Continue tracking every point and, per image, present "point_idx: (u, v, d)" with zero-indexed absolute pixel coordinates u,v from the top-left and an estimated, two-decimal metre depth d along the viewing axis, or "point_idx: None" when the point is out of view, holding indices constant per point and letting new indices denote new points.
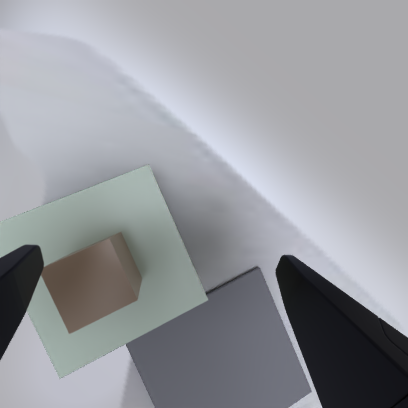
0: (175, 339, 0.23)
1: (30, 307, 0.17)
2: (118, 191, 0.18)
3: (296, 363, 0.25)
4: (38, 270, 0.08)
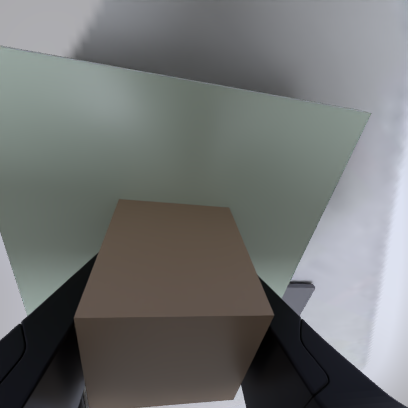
0: None
1: (15, 248, 0.09)
2: (278, 134, 0.08)
3: None
4: None
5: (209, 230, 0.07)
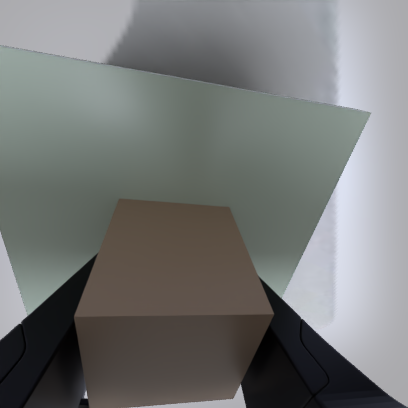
0: None
1: (15, 247, 0.09)
2: (278, 133, 0.08)
3: None
4: None
5: (209, 229, 0.07)
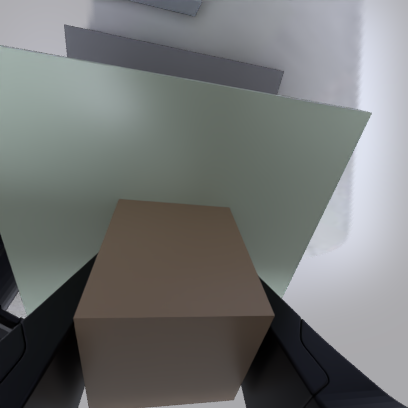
0: None
1: (14, 248, 0.09)
2: (278, 134, 0.08)
3: None
4: None
5: (209, 230, 0.07)
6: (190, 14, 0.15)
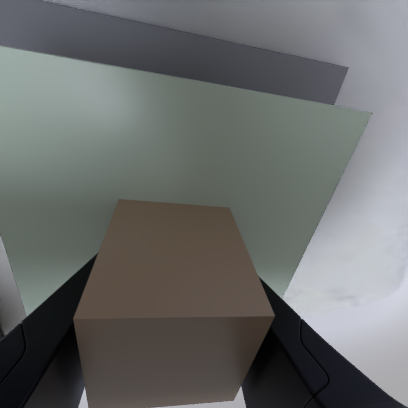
0: None
1: (14, 248, 0.09)
2: (279, 134, 0.08)
3: None
4: None
5: (209, 230, 0.07)
6: None
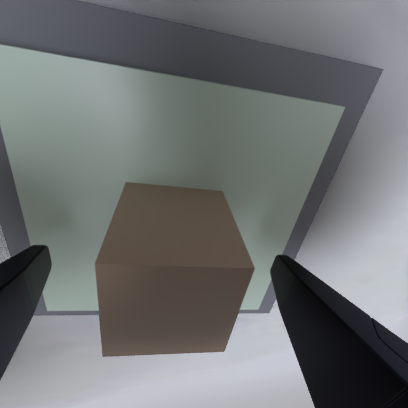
0: None
1: (33, 225, 0.10)
2: (264, 125, 0.09)
3: None
4: (46, 270, 0.08)
5: (204, 207, 0.09)
6: None
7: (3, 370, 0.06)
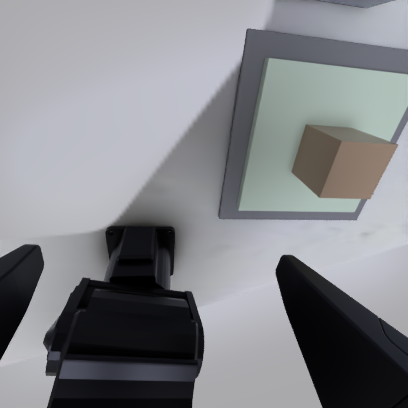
0: None
1: (254, 152, 0.19)
2: (380, 88, 0.17)
3: None
4: (38, 270, 0.08)
5: (353, 131, 0.17)
6: (365, 6, 0.15)
7: None
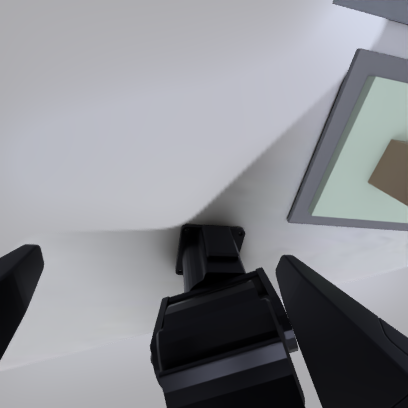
0: None
1: (340, 161, 0.20)
2: None
3: None
4: (38, 270, 0.08)
5: None
6: None
7: None
